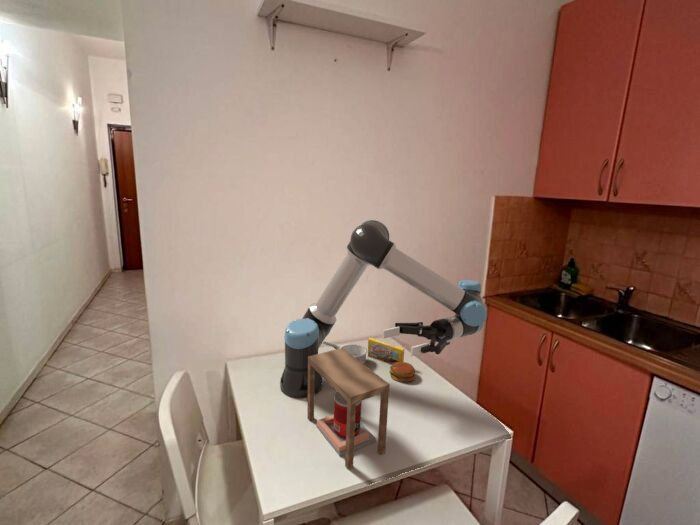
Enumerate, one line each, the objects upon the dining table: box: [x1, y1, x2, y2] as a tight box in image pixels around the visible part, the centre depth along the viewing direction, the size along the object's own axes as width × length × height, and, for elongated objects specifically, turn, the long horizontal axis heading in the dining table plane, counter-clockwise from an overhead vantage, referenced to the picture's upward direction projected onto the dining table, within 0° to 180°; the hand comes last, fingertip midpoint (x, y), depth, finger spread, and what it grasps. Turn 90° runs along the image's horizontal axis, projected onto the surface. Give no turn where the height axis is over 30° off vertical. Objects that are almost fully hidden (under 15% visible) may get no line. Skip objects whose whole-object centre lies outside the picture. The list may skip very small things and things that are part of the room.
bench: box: [306, 348, 390, 470], centre depth 105 cm, size 12×24×21 cm, turn 32°
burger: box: [388, 361, 416, 383], centre depth 140 cm, size 10×9×5 cm
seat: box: [315, 414, 377, 457], centre depth 107 cm, size 12×14×2 cm
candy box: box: [367, 337, 405, 366], centre depth 150 cm, size 16×2×8 cm, turn 55°
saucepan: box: [322, 341, 368, 365], centre depth 151 cm, size 12×20×6 cm, turn 61°
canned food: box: [333, 391, 362, 438], centre depth 106 cm, size 8×8×11 cm
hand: (396, 342), depth 112 cm, fingers open, 13 cm apart
